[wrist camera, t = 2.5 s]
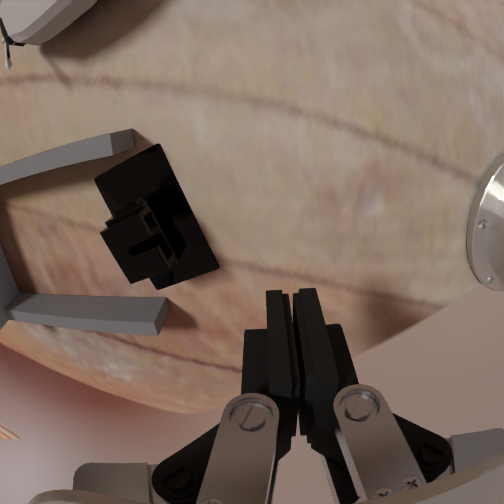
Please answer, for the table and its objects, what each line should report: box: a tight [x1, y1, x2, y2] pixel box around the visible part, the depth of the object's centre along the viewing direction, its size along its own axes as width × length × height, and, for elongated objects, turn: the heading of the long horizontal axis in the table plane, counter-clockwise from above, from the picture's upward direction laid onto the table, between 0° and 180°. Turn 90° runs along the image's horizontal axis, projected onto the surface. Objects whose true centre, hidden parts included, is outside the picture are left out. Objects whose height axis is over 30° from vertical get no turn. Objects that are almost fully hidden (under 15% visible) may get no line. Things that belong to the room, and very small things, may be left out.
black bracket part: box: [94, 144, 220, 290], centre depth 18 cm, size 12×7×5 cm, turn 22°
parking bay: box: [0, 129, 169, 336], centre depth 18 cm, size 18×14×5 cm
